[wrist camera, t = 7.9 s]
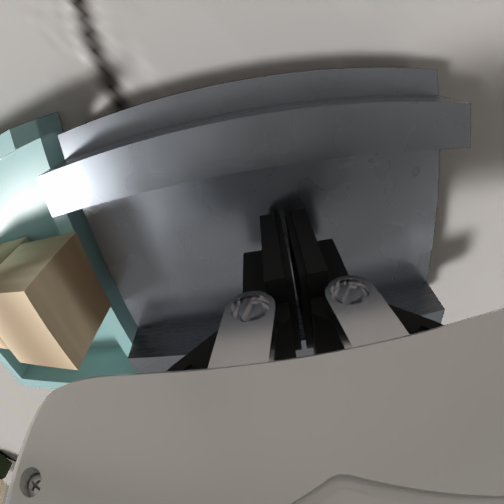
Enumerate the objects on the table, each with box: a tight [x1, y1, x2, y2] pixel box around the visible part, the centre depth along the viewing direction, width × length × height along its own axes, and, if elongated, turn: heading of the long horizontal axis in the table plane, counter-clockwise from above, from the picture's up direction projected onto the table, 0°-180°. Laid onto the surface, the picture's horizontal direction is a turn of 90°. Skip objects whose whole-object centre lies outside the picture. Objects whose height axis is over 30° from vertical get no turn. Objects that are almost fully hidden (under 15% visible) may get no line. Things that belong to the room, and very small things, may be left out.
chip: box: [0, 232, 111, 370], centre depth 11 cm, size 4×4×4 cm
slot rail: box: [37, 67, 471, 373], centre depth 12 cm, size 14×12×4 cm
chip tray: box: [0, 112, 138, 389], centre depth 13 cm, size 10×14×4 cm
